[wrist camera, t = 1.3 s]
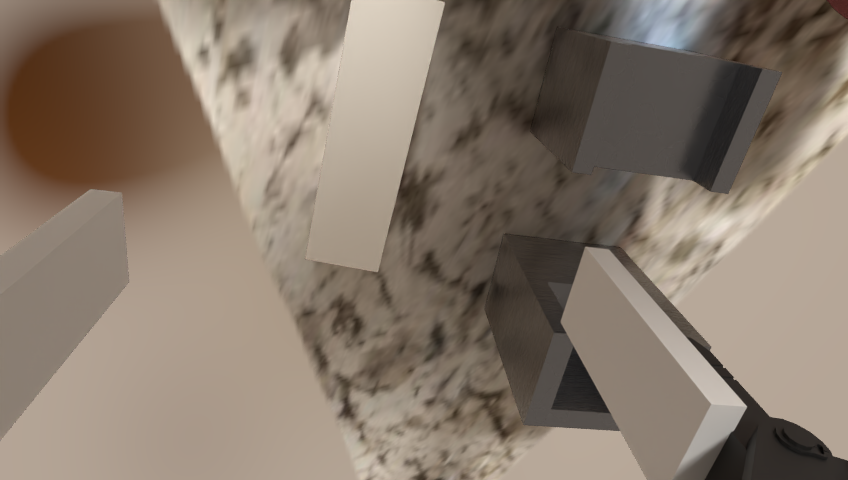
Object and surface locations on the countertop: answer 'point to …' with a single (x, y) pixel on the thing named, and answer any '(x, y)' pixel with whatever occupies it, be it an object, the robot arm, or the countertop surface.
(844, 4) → the mechanical component
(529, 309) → the cup bracket
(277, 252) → the countertop surface
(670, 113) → the grey channel block
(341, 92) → the cream rectangular block
